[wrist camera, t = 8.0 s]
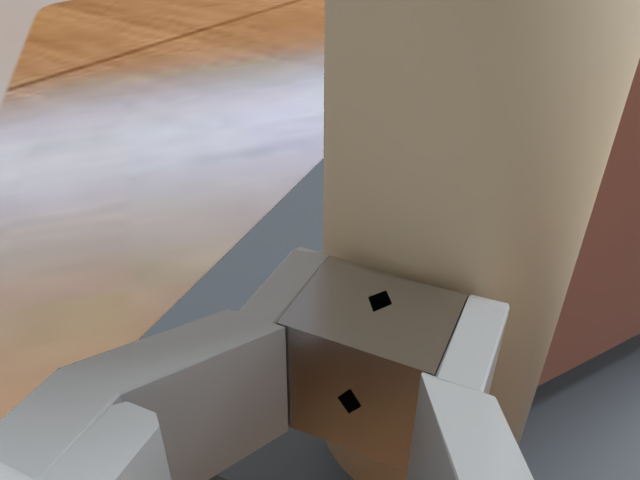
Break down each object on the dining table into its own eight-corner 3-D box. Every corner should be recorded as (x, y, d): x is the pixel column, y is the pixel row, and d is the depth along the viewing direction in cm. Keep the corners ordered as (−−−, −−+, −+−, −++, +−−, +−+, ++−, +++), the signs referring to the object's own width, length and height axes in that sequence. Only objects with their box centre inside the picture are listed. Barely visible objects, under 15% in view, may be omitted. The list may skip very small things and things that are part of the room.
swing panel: (661, 231, 18) (820, -171, 12) (801, 308, 15) (1093, -167, 10) (288, 388, 13) (266, -167, 7) (394, 548, 10) (496, -159, 4)
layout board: (925, 172, 24) (933, 161, 24) (1642, 1145, 6) (1704, 1149, 6) (405, 85, 32) (406, 75, 32) (74, 419, 14) (68, 405, 14)
